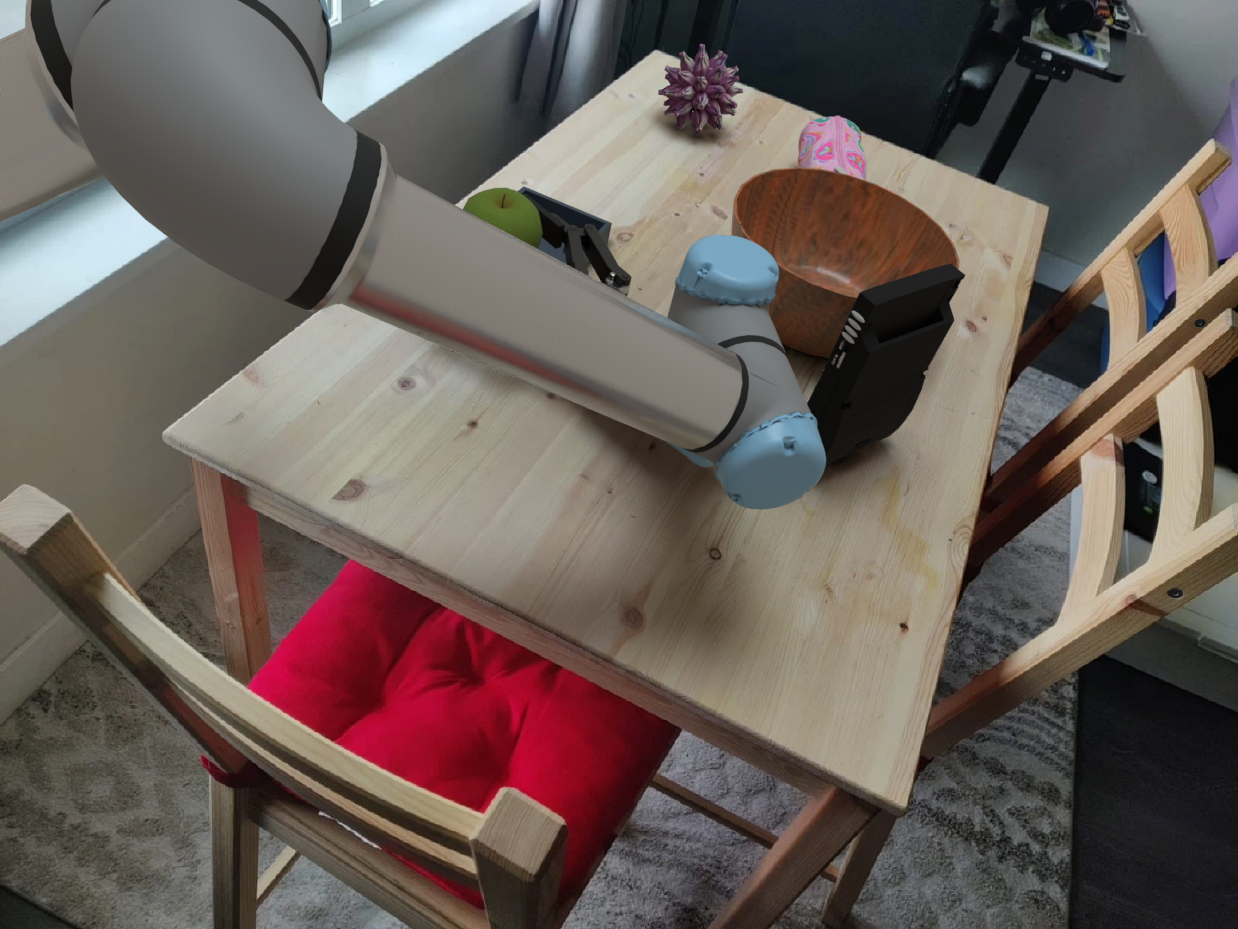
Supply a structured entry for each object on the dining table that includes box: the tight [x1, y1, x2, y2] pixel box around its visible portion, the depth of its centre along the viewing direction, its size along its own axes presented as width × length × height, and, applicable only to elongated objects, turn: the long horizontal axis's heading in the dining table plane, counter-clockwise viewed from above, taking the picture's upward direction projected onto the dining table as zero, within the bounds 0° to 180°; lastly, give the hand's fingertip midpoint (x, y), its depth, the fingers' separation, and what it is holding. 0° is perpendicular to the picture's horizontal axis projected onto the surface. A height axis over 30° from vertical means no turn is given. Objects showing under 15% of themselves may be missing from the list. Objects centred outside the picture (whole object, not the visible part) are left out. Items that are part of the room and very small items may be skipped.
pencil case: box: [797, 115, 867, 181], centre depth 120 cm, size 21×9×9 cm, turn 173°
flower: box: [657, 43, 744, 137], centre depth 128 cm, size 12×12×12 cm
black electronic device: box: [806, 264, 966, 466], centre depth 83 cm, size 12×5×20 cm, turn 125°
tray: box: [517, 186, 613, 267], centre depth 100 cm, size 23×12×3 cm, turn 156°
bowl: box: [730, 166, 961, 359], centre depth 102 cm, size 25×25×12 cm
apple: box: [462, 187, 543, 249], centre depth 93 cm, size 9×8×12 cm
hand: (475, 218), depth 94 cm, fingers open, 11 cm apart
